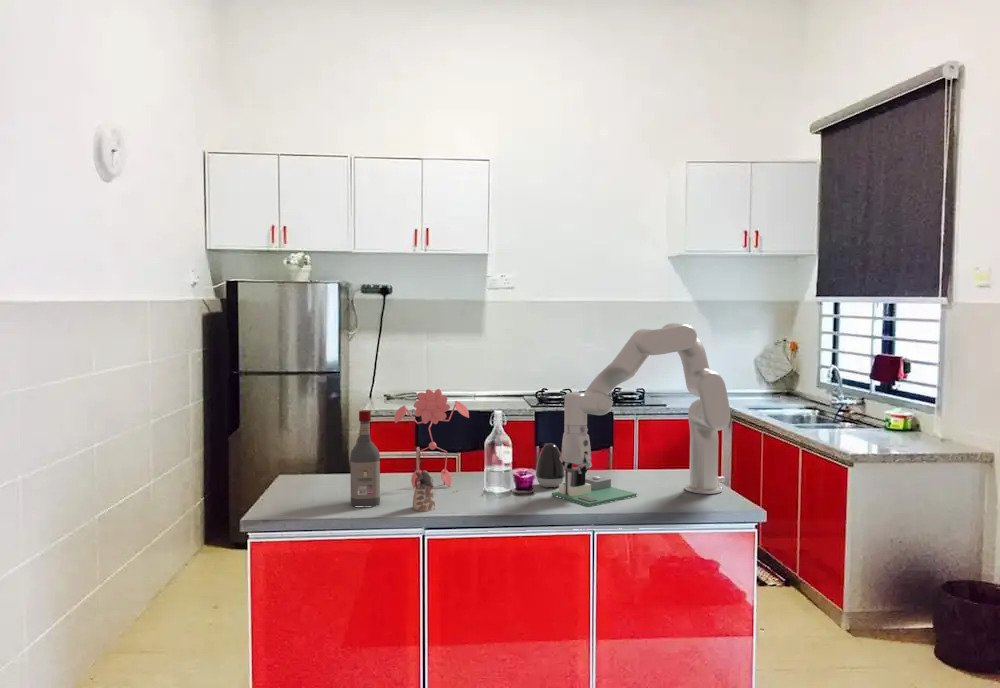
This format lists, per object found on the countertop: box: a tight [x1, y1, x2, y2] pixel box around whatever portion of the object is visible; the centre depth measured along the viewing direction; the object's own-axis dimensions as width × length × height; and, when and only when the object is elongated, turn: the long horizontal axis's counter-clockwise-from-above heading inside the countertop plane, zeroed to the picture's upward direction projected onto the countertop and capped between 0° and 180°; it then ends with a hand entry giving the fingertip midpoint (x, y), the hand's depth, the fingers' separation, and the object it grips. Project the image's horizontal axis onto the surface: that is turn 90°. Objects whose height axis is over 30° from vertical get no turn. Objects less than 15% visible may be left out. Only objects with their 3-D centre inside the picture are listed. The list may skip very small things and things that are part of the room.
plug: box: [565, 466, 587, 493], centre depth 269 cm, size 6×4×8 cm
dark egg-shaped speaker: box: [535, 442, 566, 488], centre depth 284 cm, size 10×10×15 cm
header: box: [558, 482, 591, 497], centre depth 269 cm, size 8×7×3 cm
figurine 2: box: [412, 470, 436, 512], centre depth 253 cm, size 7×7×12 cm
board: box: [551, 486, 638, 507], centre depth 269 cm, size 22×18×3 cm
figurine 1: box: [393, 388, 470, 493], centre depth 277 cm, size 15×26×35 cm, turn 96°
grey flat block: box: [585, 475, 612, 490], centre depth 278 cm, size 7×7×3 cm
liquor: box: [349, 409, 381, 507], centre depth 257 cm, size 9×9×30 cm
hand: (575, 482), depth 269 cm, fingers open, 5 cm apart
